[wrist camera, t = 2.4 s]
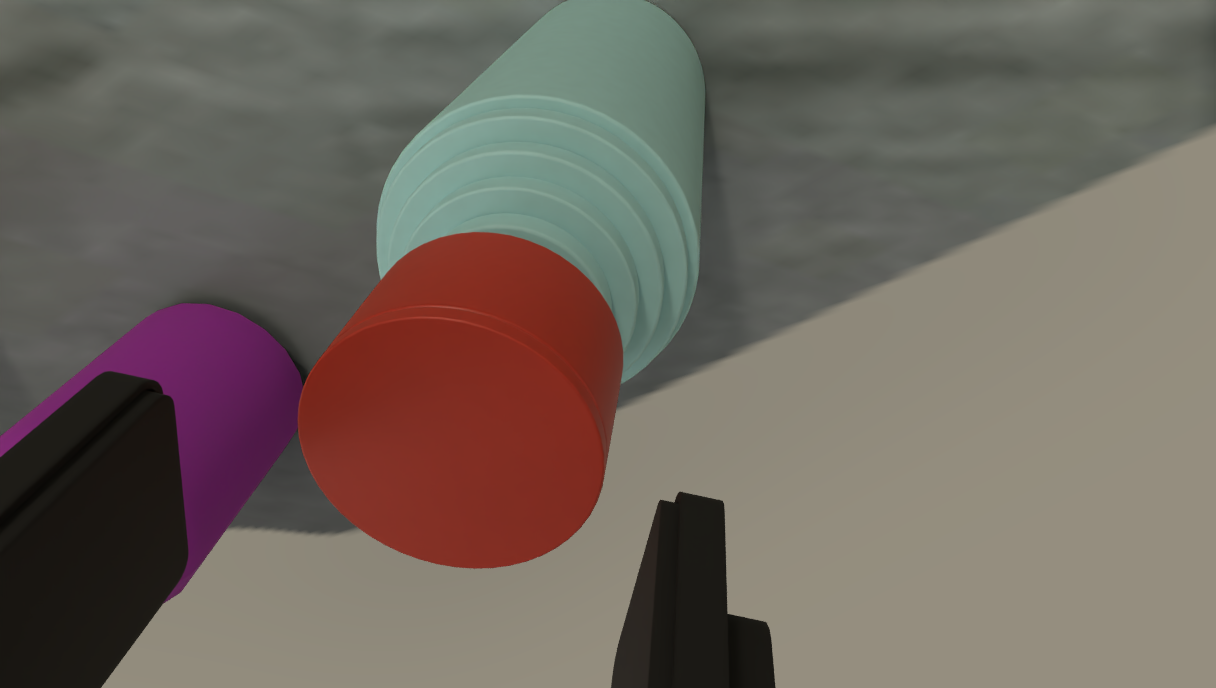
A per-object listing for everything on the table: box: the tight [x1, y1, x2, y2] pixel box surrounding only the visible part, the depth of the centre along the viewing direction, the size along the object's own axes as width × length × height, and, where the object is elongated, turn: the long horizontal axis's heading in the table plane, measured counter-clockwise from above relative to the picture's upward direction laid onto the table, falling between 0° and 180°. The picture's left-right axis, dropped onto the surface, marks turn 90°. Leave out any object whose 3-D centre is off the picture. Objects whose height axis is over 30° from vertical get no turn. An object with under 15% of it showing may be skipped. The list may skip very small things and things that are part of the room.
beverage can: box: [0, 303, 303, 603], centre depth 31 cm, size 8×8×12 cm
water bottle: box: [376, 0, 705, 385], centre depth 20 cm, size 7×7×20 cm
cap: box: [298, 232, 623, 568], centre depth 13 cm, size 4×4×3 cm
